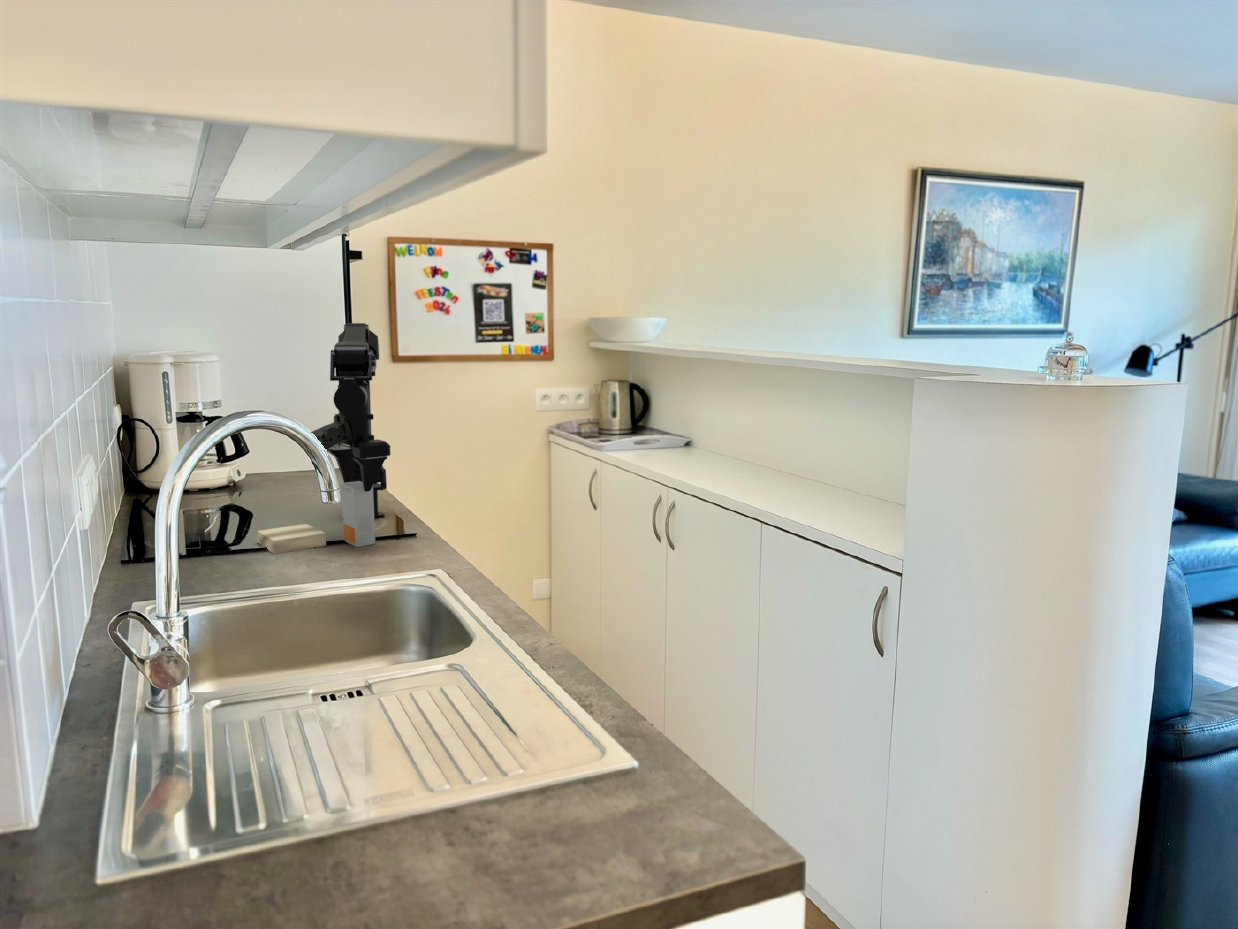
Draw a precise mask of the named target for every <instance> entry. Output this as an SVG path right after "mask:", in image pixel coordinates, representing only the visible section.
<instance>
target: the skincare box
mask: <svg viewBox="0 0 1238 929" xmlns="http://www.w3.org/2000/svg"><path fill="white" fill-rule="evenodd" d="M340 493H341V494H340V496H341V499H340V500H341V501H340V502H341V517H342V518H341V521H342V541H343V540H345V541H346V543H348V544H350V545H352V546H354V547H356V548H360V547H366V546H370V545H375V544H376V532H375V531H376V529H375V528H376V527H375V518H374V500H373V486H372V488H371V490H370V491H367V492H365V491H364V487H363V482H360V481H355V482H347V483H344V482H342V483H340ZM345 541H344V542H345Z"/></svg>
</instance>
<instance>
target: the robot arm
mask: <svg viewBox="0 0 1238 929" xmlns="http://www.w3.org/2000/svg"><path fill="white" fill-rule="evenodd" d="M337 339H338V340H337V342H336V343H335V344H334V348H333V349H330V367H329V369H330V370H329V380H330V382H333V381H334V382H338V385H337V389H336V390H335V392H334V394H333V404H334V407H335V408H336V409H337V410H338V413H334V415H333V422H331V423H328V424H326V425H323V426H321V427H319V428H317V429H314V430H313V431H311V433H313V434H314V435H315V436H316V437H317V439H318V440H319V441H320V442H321V444H322V445H323V446H324V448H325V449H327V451H326V452H328V453H329V455H331V456H332V457H334V458H335V461H336V463H337V467H338V469H339V472H340V475H341V477H342V478H341V479H342V480H343V483H347V482H355V481H360V482H363V487H364V491H365V492H367V491H370V490H371V488H372V486H373V500H374V519H375V518H382V517H385V513H383V512H380V511H379V496H378V495H379V492H378V491H384V490H387V489H388V488H387V487H388V486H387V484H388V483H387V470H386V469H385V467H384V465H383V464H384V463H385V460H387V459H388V457H390V456H391V455H392V454H391V445H390V444H389V443H388V442H387V441H385V440H381V439H375V435H374V434H372V420H374V414H373V413H372V410H371V409H372V407H371V381H373V377H376V369H377V361H379V360H380V344H379V343H380V342H379V336H378V335H377V334H375V333H374V332H373V331H372V330H370V327H369V324H366V323H363V322H361V323H359V322H355V323H354V322H348V323H346V324H343V331H342V332H341V333H340V334H339V335H338V338H337Z"/></svg>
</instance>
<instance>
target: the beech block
mask: <svg viewBox="0 0 1238 929" xmlns="http://www.w3.org/2000/svg"><path fill="white" fill-rule="evenodd" d="M255 533H256V543H257V542H258V543H260V544H261V545H263V546H264V547H267V549H268V550H267V549H266V550H267V551H269V552H271V553H272V554H275V555H276V554H277V555H279V554H284V553H289V552H297V551H303V550H307V549H314V547H316V548H320V547H326V546H327V541H326V540H327V539H326V532H324V531H321V530H320V529H318V528H316V527H314V526H311V525H309V524H307V523H302V524H294V525H287V526H282V527H280V526H279V527H273V528H267V529H260V530H256V532H255ZM264 547H263V548H264Z"/></svg>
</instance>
